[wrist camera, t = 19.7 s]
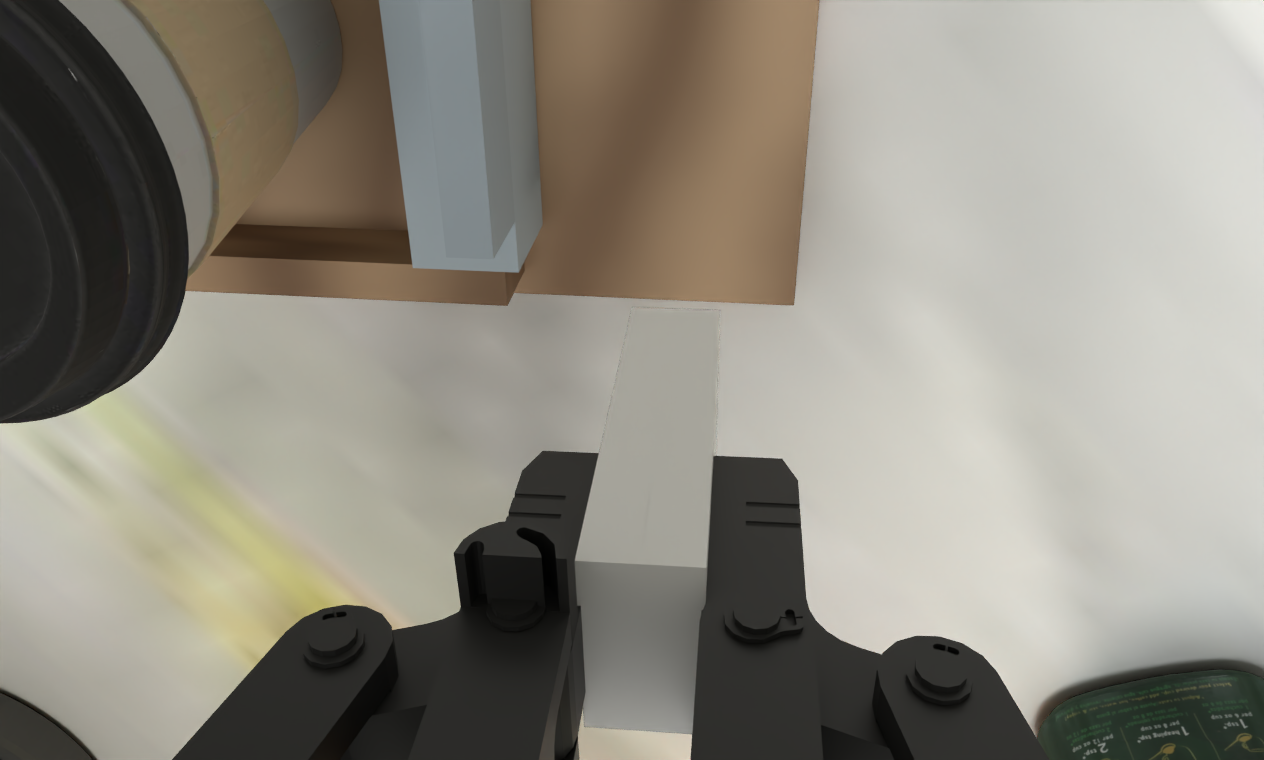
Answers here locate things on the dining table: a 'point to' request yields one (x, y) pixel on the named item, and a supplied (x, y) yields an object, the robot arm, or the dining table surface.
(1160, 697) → the coffee jar
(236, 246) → the housing base
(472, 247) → the block
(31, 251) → the coffee cup
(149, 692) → the dining table surface
